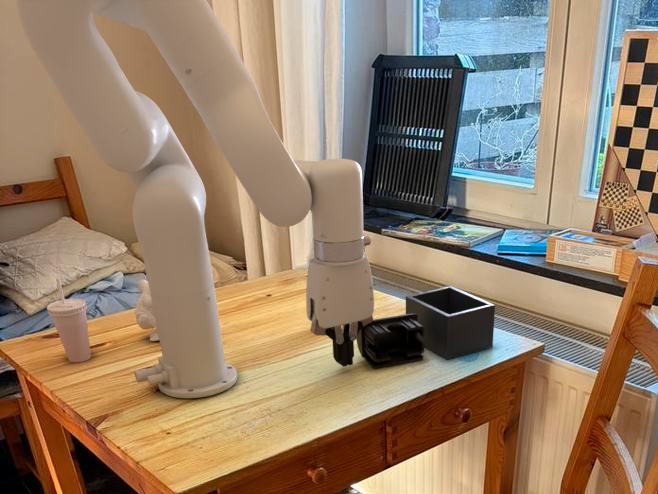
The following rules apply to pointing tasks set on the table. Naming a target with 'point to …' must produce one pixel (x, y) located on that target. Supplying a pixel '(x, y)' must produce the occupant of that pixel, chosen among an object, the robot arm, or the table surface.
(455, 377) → the table surface
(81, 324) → the smoothie
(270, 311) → the table surface
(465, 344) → the box
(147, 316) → the koala figurine
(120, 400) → the table surface
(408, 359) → the end cap
